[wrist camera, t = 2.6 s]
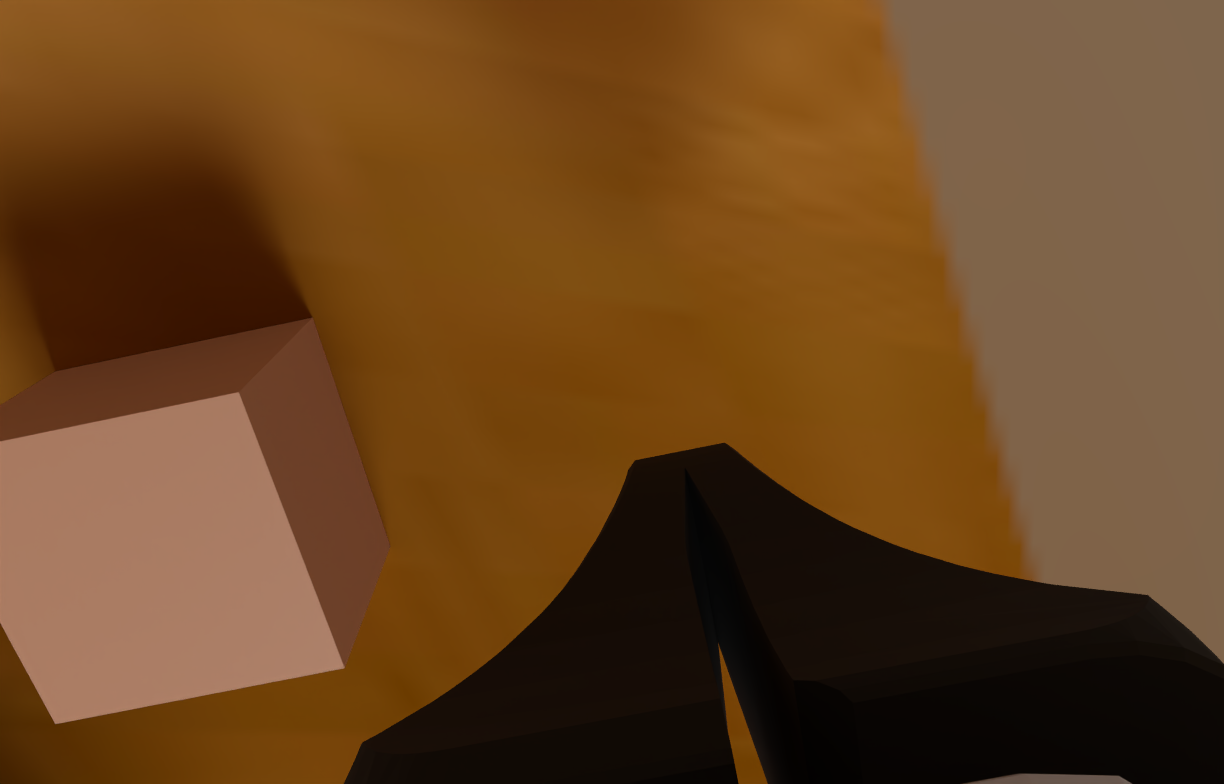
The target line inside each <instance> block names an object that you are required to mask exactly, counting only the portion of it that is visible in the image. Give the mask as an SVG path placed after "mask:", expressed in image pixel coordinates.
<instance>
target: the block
mask: <svg viewBox="0 0 1224 784" xmlns="http://www.w3.org/2000/svg"><path fill="white" fill-rule="evenodd" d="M389 548H390V544H389V541H388V538H387V535H386V532H385V529H384V526H383V523H382V520H381V518H380V515H379V512H378V509H377V506H376V503H375V500H374V497H373V494H372V491H371V488H370V485H369V482H368V479H367V476H366V473H365V470H364V468H363V465H362V462H361V459H360V456H359V453H358V450H357V447H356V444H355V441H354V438H353V435H352V432H351V429H350V426H349V423H348V420H347V417H346V415H345V412H344V409H343V406H342V403H341V400H340V397H339V394H338V391H337V388H336V385H335V382H334V379H333V376H332V373H331V370H330V367H329V364H328V362H327V359H326V356H325V353H324V350H323V347H322V344H321V341H320V338H319V335H318V332H317V329H316V326H315V323H314V320H313V318H308V319H303V320H299V321H294V322H289V323H284V324H279V325H275V326H270V327H265V328H260V329H256V330H251V331H246V332H241V333H236V334H232V335H227V336H222V337H217V338H213V339H208V340H203V341H198V342H194V343H189V344H184V345H179V346H174V347H170V348H165V349H160V350H155V351H151V352H146V353H141V354H136V355H131V356H127V357H122V358H117V359H112V360H108V361H103V362H98V363H93V364H88V365H84V366H79V367H74V368H69V369H65V370H60V371H55V372H53V373H52V374H50V375H49V376H47V377H45V378H44V379H42V380H40V381H39V382H37V383H36V384H34V385H32V386H31V387H29V388H27V389H26V390H24V391H23V392H21V393H19V394H18V395H16V396H14V397H13V398H11V399H10V400H8V401H6V402H5V403H3V404H1V405H0V623H1V625H2V627H3V629H4V631H5V632H6V634H7V636H8V638H9V640H10V642H11V643H12V645H13V647H14V649H15V651H16V653H17V654H18V656H19V658H20V660H21V662H22V664H23V665H24V667H25V669H26V671H27V673H28V675H29V676H30V678H31V680H32V682H33V684H34V686H35V687H36V689H37V691H38V693H39V695H40V697H41V698H42V700H43V702H44V704H45V706H46V708H47V709H48V711H49V713H50V715H51V717H52V719H53V720H54V722H55V724H58V723H63V722H69V721H74V720H79V719H84V718H89V717H94V716H99V715H105V714H110V713H115V712H120V711H125V710H130V709H136V708H141V707H146V706H151V705H156V704H161V703H167V702H172V701H177V700H182V699H187V698H192V697H197V696H203V695H208V694H213V693H218V692H223V691H228V690H234V689H239V688H244V687H249V686H254V685H259V684H265V683H270V682H275V681H280V680H285V679H290V678H295V677H301V676H306V675H311V674H316V673H321V672H326V671H332V670H337V669H342V668H345V666H346V663H347V660H348V658H349V655H350V652H351V650H352V647H353V644H354V642H355V639H356V636H357V634H358V631H359V628H360V626H361V623H362V620H363V618H364V615H365V612H366V610H367V607H368V604H369V602H370V599H371V596H372V594H373V591H374V588H375V586H376V583H377V580H378V578H379V575H380V572H381V570H382V567H383V564H384V562H385V559H386V556H387V554H388V551H389Z"/></svg>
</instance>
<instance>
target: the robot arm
mask: <svg viewBox="0 0 1224 784" xmlns="http://www.w3.org/2000/svg"><path fill="white" fill-rule="evenodd" d="M718 643H719V646H720V649H721V652H722V655H723V658H724V660H725V663H726V666H727V669H728V672H729V675H730V678H731V680H732V683H733V686H734V689H735V692H736V695H737V697H738V700H739V703H740V706H741V709H742V711H743V714H744V717H745V720H746V723H747V726H748V728H749V731H750V734H751V737H752V740H753V743H754V745H755V748H756V751H757V754H758V757H759V759H760V762H761V765H762V768H763V771H764V774H765V776H766V779H767V783H768V784H1224V664H1223V663H1222V662H1221V660H1220V659H1219V658H1218V657H1217V656H1216V655H1215V654H1214V653H1213V652H1212V651H1211V650H1210V649H1209V648H1208V647H1207V646H1206V645H1205V644H1204V643H1203V642H1202V641H1200V640H1199V638H1197V637H1196V636H1195V635H1194V634H1193V633H1192V632H1191V631H1190V630H1189V629H1188V628H1187V627H1185V626H1184V625H1183V624H1182V623H1181V622H1180V621H1178V620H1177V619H1176V618H1175V617H1174V616H1172V615H1171V614H1170V613H1169V612H1168V611H1166V610H1165V609H1164V608H1163V607H1162V606H1160V605H1159V604H1158V603H1157V602H1155V601H1154V600H1153V599H1152V598H1151V597H1149V596H1148V595H1142V594H1133V593H1124V592H1115V591H1105V590H1096V589H1087V588H1079V587H1069V586H1060V585H1052V584H1046V583H1040V582H1034V581H1029V580H1024V579H1019V578H1014V577H1008V576H1003V575H998V574H993V573H989V572H984V571H980V570H976V569H972V568H968V567H964V566H960V565H956V564H953V563H949V562H946V561H943V560H939V559H936V558H933V557H929V556H926V555H923V554H919V553H916V552H913V551H910V550H908V549H905V548H902V547H899V546H896V545H894V544H891V543H889V542H886V541H884V540H881V539H879V538H877V537H874V536H872V535H870V534H867V533H865V532H862V531H860V530H858V529H855V528H853V527H851V526H849V525H847V524H845V523H843V522H841V521H839V520H837V519H835V518H833V517H831V516H830V515H828V514H826V513H824V512H822V511H821V510H819V509H817V508H815V507H813V506H812V505H810V504H808V503H806V502H805V501H803V500H802V499H800V498H799V497H797V496H796V495H794V494H793V493H791V492H790V491H788V490H787V489H785V488H784V487H782V486H781V485H779V484H778V483H776V482H775V481H774V480H772V479H771V478H770V477H768V476H767V475H766V474H764V473H763V472H762V471H760V470H759V469H758V468H757V467H755V466H754V465H753V464H751V463H750V462H749V461H748V460H746V459H745V458H744V457H743V456H742V455H740V454H739V453H738V452H737V451H736V450H734V449H733V448H732V447H730V446H729V445H727V444H726V443H721V444H716V445H711V446H706V447H700V448H695V449H690V450H685V451H680V452H675V453H670V454H665V455H660V456H655V457H650V458H645V459H640V460H635V461H634V463H633V464H632V465H631V467H630V468H629V470H628V473H627V476H626V479H625V482H624V485H623V487H622V490H621V492H620V494H619V496H618V499H617V501H616V503H615V505H614V507H613V509H612V511H611V513H610V515H609V517H608V519H607V521H606V523H605V525H604V527H603V528H602V530H601V532H600V534H599V536H598V538H597V539H596V541H595V542H594V544H593V546H592V547H591V549H590V550H589V552H588V553H587V555H586V557H585V558H584V560H583V561H582V563H581V564H580V566H579V568H578V569H577V571H576V572H575V573H574V575H573V576H572V578H571V579H570V580H569V582H568V583H567V584H566V586H565V587H564V588H563V590H562V591H561V592H560V593H559V594H558V595H557V597H556V598H555V599H554V600H553V601H552V602H551V604H550V605H549V606H548V607H547V608H546V609H545V610H544V611H543V612H542V613H541V614H540V615H539V616H538V617H537V618H536V619H535V620H534V621H533V622H532V623H531V624H530V625H529V626H527V627H526V628H525V629H524V630H523V631H522V632H521V633H520V634H519V635H518V636H517V637H516V638H515V639H514V640H513V641H512V642H511V643H509V644H508V645H507V646H506V647H505V648H504V649H503V650H502V651H501V652H499V653H498V654H497V655H496V656H495V657H493V658H492V659H491V660H490V661H488V662H487V663H486V664H485V665H483V666H482V667H481V668H479V669H478V670H477V671H476V672H474V673H473V674H472V675H470V676H469V677H467V678H466V679H465V680H463V681H462V682H461V683H459V684H458V685H456V686H455V687H454V688H452V689H451V690H449V691H448V692H446V693H445V694H443V695H442V696H440V697H439V698H437V699H436V700H434V701H433V702H431V703H430V704H428V705H426V706H425V707H423V708H421V709H420V710H418V711H416V712H415V713H413V714H411V715H409V716H408V717H406V718H404V719H403V720H401V721H399V722H398V723H396V724H394V725H393V726H391V727H389V728H388V729H386V730H384V731H383V732H381V733H379V734H377V735H376V736H374V737H372V738H370V739H368V740H366V741H364V742H363V743H362V744H361V747H360V749H359V751H358V754H357V756H356V759H355V761H354V763H353V765H352V767H351V770H350V772H349V774H348V776H347V778H346V780H345V783H344V784H738V779H737V774H736V769H735V764H734V759H733V754H732V749H731V744H730V740H729V735H728V729H727V720H726V711H725V701H724V692H723V683H722V674H721V665H720V656H719V647H718Z"/></svg>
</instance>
